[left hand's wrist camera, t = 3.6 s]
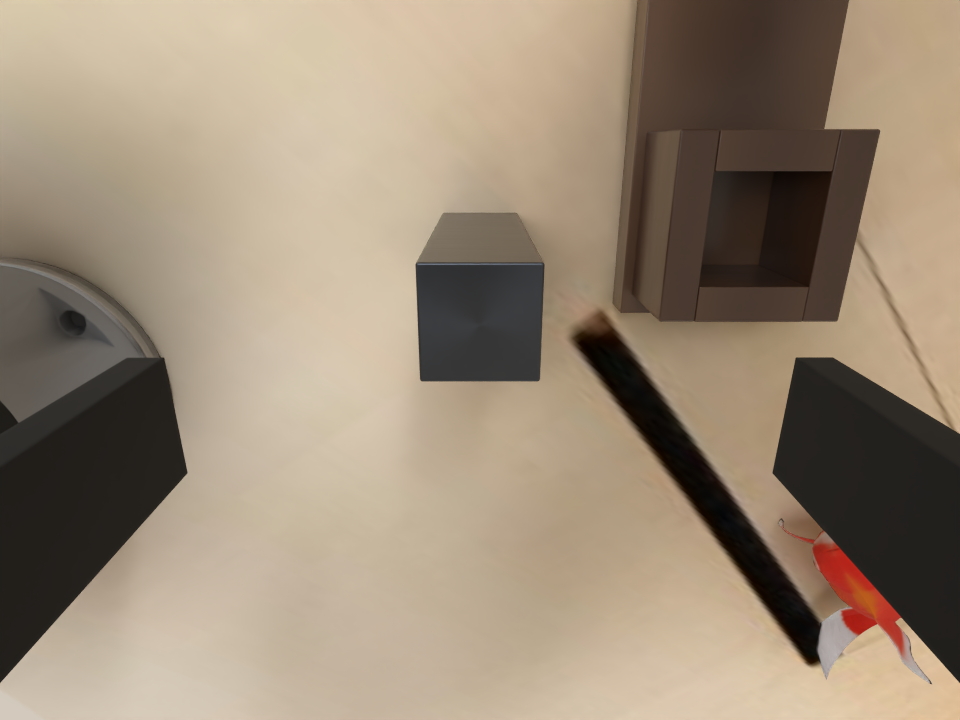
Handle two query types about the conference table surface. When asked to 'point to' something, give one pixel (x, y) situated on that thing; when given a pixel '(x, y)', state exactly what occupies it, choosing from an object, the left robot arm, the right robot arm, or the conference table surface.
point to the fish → (852, 607)
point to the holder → (738, 164)
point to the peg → (479, 300)
